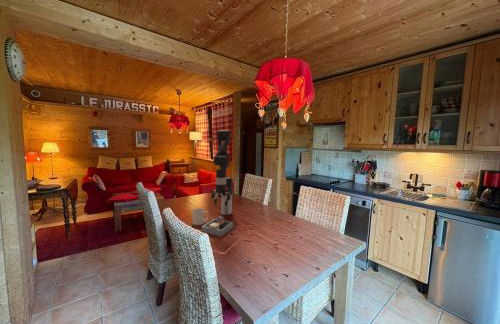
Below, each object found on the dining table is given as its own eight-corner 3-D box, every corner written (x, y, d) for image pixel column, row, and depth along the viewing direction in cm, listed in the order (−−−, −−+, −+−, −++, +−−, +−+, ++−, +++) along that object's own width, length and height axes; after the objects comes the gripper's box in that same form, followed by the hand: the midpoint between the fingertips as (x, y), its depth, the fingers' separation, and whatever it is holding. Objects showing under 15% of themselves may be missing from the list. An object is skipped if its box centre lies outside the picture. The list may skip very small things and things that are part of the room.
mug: (192, 226, 155) (192, 212, 154) (192, 222, 164) (192, 208, 163) (208, 225, 158) (208, 211, 157) (208, 221, 167) (208, 207, 166)
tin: (219, 225, 156) (219, 215, 155) (225, 227, 154) (225, 216, 153) (215, 228, 151) (215, 217, 150) (221, 229, 149) (221, 219, 148)
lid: (213, 223, 148) (213, 222, 148) (219, 224, 146) (219, 223, 146) (209, 225, 143) (209, 225, 143) (215, 227, 141) (215, 226, 141)
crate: (215, 224, 160) (215, 218, 159) (233, 228, 154) (233, 222, 153) (201, 233, 144) (201, 226, 144) (221, 238, 138) (221, 230, 138)
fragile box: (213, 229, 148) (213, 223, 148) (219, 231, 146) (219, 224, 146) (209, 232, 143) (209, 225, 143) (215, 234, 142) (215, 227, 141)
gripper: (232, 183, 149) (231, 204, 151) (215, 181, 155) (215, 202, 157) (226, 185, 143) (226, 207, 144) (209, 183, 148) (209, 205, 150)
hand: (220, 204), depth 151 cm, fingers open, 8 cm apart
